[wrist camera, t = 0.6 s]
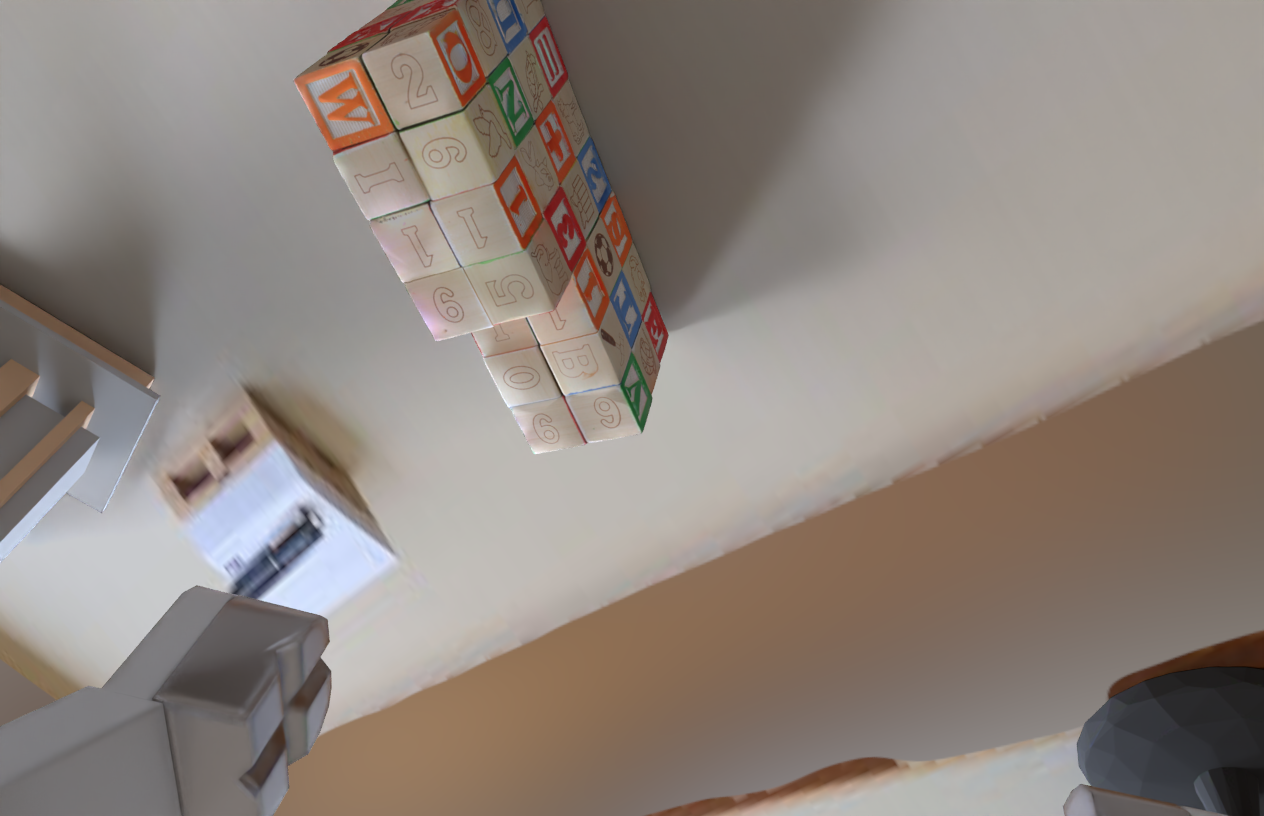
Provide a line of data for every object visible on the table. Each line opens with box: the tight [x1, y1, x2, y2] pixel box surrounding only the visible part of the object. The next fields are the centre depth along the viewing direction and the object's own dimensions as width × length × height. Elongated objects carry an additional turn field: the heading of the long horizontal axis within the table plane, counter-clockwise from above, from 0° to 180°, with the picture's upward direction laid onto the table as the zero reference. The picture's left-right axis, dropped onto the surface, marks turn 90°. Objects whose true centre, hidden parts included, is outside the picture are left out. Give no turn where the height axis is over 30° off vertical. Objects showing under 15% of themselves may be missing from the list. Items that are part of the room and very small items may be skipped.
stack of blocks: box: [294, 0, 668, 454], centre depth 49 cm, size 21×6×12 cm, turn 21°
